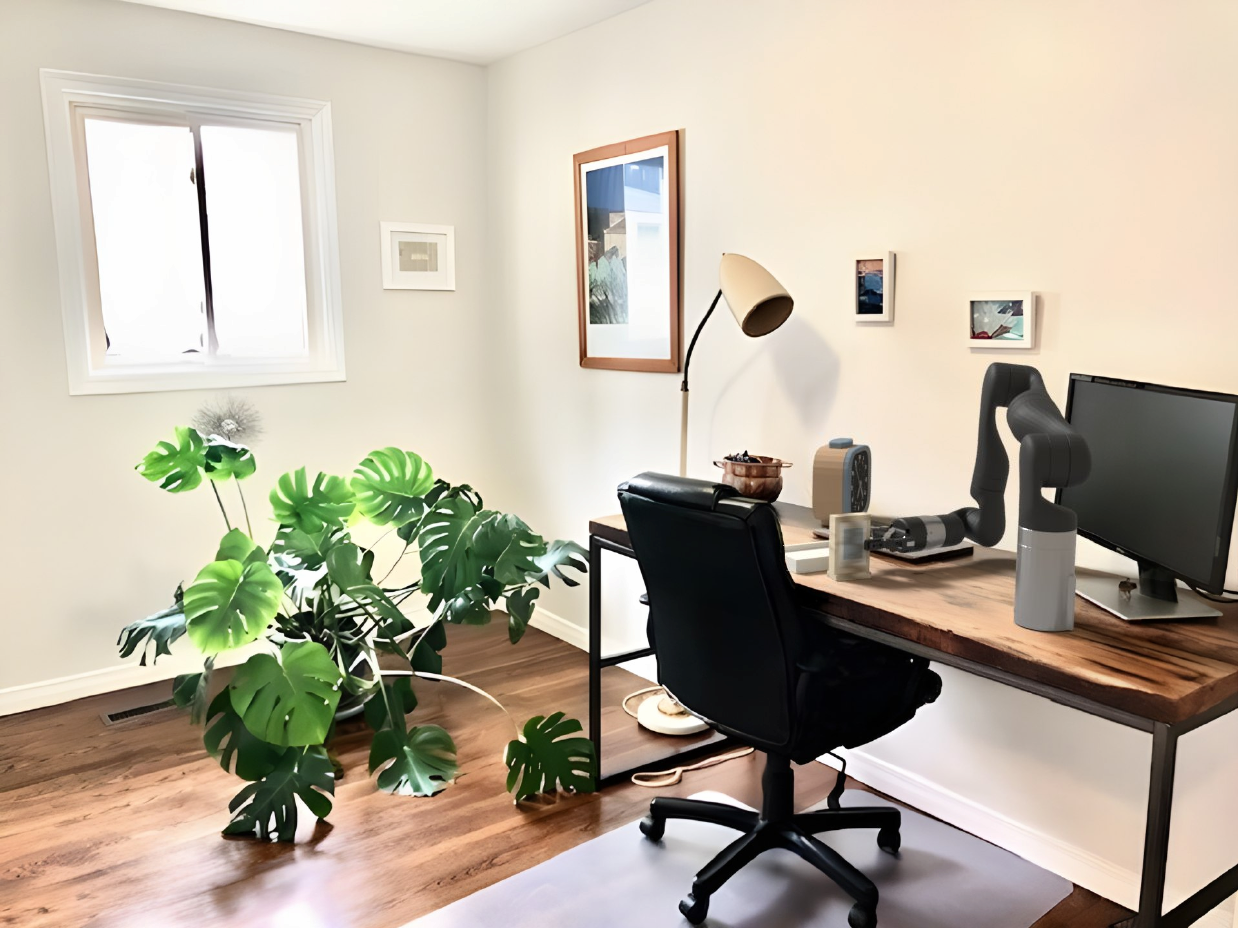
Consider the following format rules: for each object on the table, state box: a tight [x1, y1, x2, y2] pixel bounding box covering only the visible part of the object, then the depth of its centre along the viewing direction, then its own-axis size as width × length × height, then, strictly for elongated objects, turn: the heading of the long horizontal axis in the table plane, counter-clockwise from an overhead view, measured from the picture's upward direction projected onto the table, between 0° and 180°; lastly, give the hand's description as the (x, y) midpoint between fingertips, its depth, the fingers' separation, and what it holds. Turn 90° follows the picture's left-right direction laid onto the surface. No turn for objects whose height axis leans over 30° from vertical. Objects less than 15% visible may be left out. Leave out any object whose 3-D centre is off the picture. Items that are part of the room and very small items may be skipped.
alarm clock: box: [811, 437, 872, 527], centre depth 250 cm, size 21×10×22 cm, turn 150°
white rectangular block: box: [785, 539, 829, 575], centre depth 207 cm, size 14×8×4 cm, turn 111°
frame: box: [826, 512, 872, 582], centre depth 197 cm, size 8×4×13 cm, turn 105°
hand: (852, 541), depth 198 cm, fingers open, 8 cm apart
